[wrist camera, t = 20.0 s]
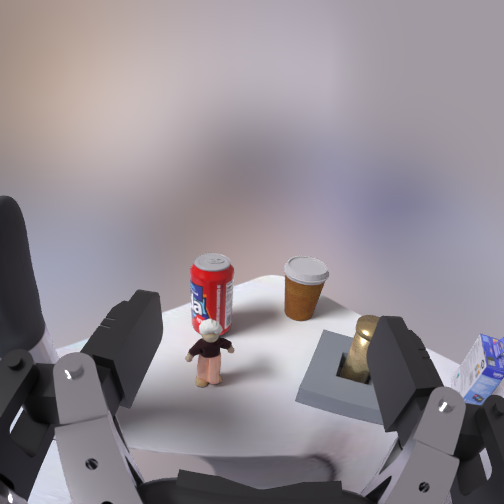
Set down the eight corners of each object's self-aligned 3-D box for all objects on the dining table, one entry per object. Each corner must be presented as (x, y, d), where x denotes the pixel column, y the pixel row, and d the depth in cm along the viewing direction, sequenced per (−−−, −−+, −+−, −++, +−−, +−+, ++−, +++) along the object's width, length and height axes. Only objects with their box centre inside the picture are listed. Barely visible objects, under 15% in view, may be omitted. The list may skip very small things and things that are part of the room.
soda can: (234, 338, 56) (238, 270, 49) (193, 341, 54) (191, 272, 47) (227, 314, 62) (230, 250, 56) (190, 316, 60) (189, 251, 54)
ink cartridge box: (473, 419, 35) (516, 361, 29) (450, 414, 37) (492, 355, 31) (471, 383, 43) (505, 328, 37) (450, 378, 45) (483, 321, 39)
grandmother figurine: (195, 394, 42) (191, 336, 37) (185, 378, 45) (180, 320, 40) (237, 378, 46) (241, 320, 41) (225, 364, 49) (228, 306, 44)
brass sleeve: (333, 388, 45) (355, 331, 39) (339, 368, 49) (359, 311, 44) (363, 396, 43) (389, 340, 38) (367, 375, 48) (390, 319, 42)
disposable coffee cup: (270, 304, 67) (276, 257, 62) (306, 298, 71) (315, 253, 66) (288, 329, 59) (298, 279, 54) (327, 320, 63) (339, 273, 58)
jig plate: (295, 401, 42) (299, 387, 41) (319, 342, 56) (323, 329, 54) (387, 426, 37) (396, 413, 35) (394, 363, 50) (400, 350, 49)
